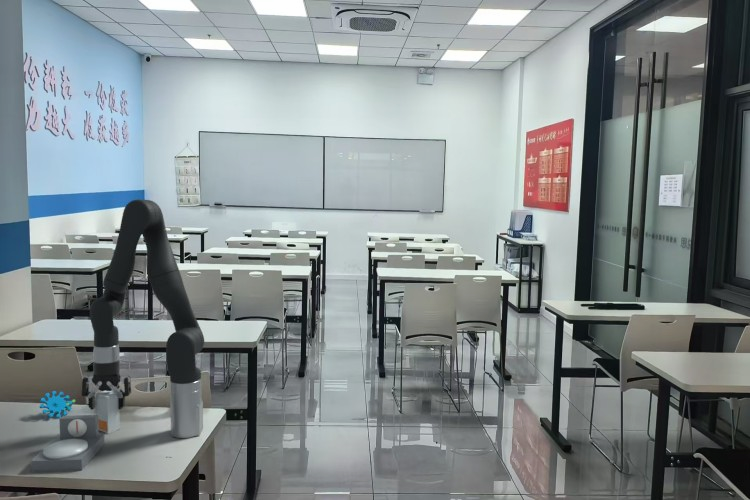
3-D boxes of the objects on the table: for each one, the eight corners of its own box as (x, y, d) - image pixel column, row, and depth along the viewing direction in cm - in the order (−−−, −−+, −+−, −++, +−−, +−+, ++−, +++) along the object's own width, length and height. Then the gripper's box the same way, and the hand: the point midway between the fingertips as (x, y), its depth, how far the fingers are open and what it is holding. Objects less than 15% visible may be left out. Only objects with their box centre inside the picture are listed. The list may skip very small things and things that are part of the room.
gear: (42, 418, 187) (38, 391, 192) (37, 427, 189) (33, 400, 194) (78, 414, 195) (73, 388, 200) (72, 422, 197) (68, 397, 202)
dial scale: (104, 443, 172) (103, 414, 171) (82, 470, 155) (81, 438, 154) (59, 444, 171) (58, 415, 170) (31, 471, 154) (30, 439, 153)
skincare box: (96, 429, 182) (95, 393, 181) (108, 425, 186) (107, 389, 184) (108, 434, 179) (107, 396, 178) (120, 429, 182) (119, 393, 181)
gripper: (133, 355, 185) (133, 404, 186) (87, 355, 183) (88, 404, 185) (126, 362, 177) (126, 413, 179) (77, 362, 176) (78, 413, 177)
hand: (106, 408), depth 182 cm, fingers open, 8 cm apart
